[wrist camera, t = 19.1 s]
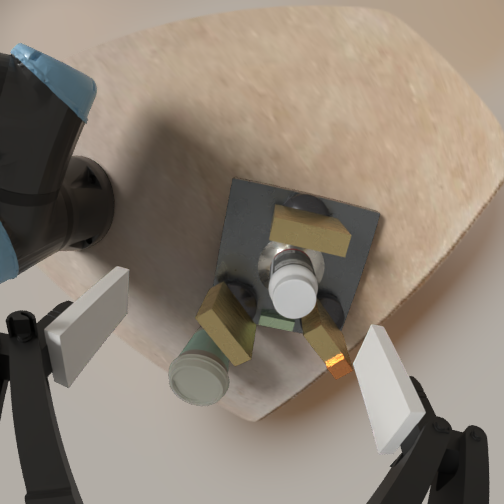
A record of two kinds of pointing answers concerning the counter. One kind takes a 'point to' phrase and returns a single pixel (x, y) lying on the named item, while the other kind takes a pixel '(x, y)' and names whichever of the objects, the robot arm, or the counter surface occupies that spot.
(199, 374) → the coffee cup
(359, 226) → the plate
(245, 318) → the foot screw
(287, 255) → the pill bottle
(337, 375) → the tan bar on disc
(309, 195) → the foot screw
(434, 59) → the counter surface
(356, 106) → the counter surface
